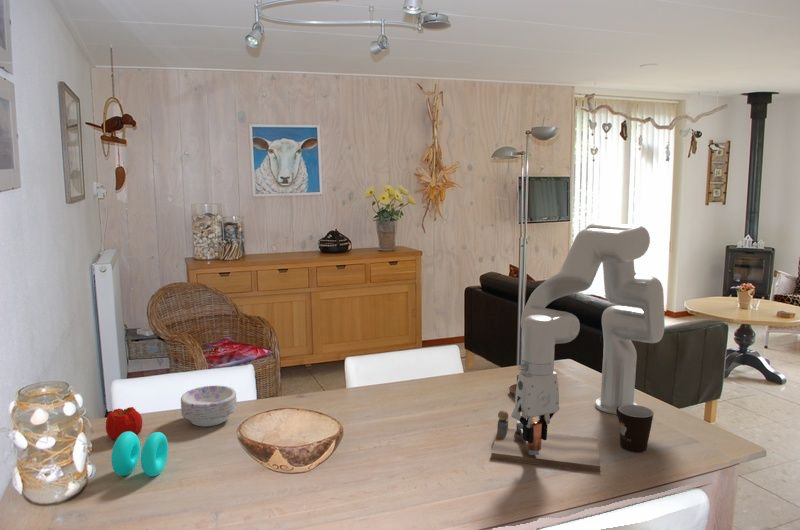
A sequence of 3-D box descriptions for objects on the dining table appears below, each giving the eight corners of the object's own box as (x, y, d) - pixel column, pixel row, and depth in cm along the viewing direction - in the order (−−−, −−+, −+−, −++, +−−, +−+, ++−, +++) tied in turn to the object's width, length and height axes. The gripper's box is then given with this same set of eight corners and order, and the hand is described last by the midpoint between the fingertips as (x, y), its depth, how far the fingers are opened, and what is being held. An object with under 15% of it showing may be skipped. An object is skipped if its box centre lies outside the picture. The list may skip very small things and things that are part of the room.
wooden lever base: (498, 431, 168) (499, 406, 167) (596, 443, 161) (598, 416, 160) (491, 458, 152) (492, 430, 151) (600, 472, 145) (601, 443, 144)
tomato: (148, 436, 164) (146, 410, 163) (114, 447, 157) (112, 420, 156) (133, 426, 170) (131, 401, 169) (100, 436, 164) (98, 410, 163)
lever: (514, 426, 165) (515, 397, 164) (527, 427, 165) (528, 397, 164) (527, 458, 147) (529, 425, 146) (542, 458, 147) (544, 425, 146)
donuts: (130, 463, 149) (128, 424, 148) (171, 463, 149) (169, 425, 147) (110, 483, 139) (107, 442, 138) (153, 484, 139) (151, 443, 137)
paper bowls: (195, 436, 164) (193, 408, 163) (173, 419, 176) (172, 392, 174) (246, 421, 174) (245, 395, 173) (223, 406, 186) (222, 381, 184)
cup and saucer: (508, 387, 203) (508, 370, 202) (545, 389, 201) (545, 371, 200) (509, 401, 191) (510, 382, 190) (548, 403, 190) (549, 384, 189)
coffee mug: (654, 456, 154) (656, 418, 152) (618, 452, 156) (620, 415, 154) (645, 436, 165) (647, 401, 164) (612, 434, 167) (614, 399, 165)
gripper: (518, 376, 138) (515, 452, 141) (575, 367, 145) (571, 439, 148) (499, 366, 145) (497, 439, 148) (554, 358, 152) (551, 428, 155)
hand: (534, 438), depth 148 cm, fingers closed on lever, 3 cm apart
